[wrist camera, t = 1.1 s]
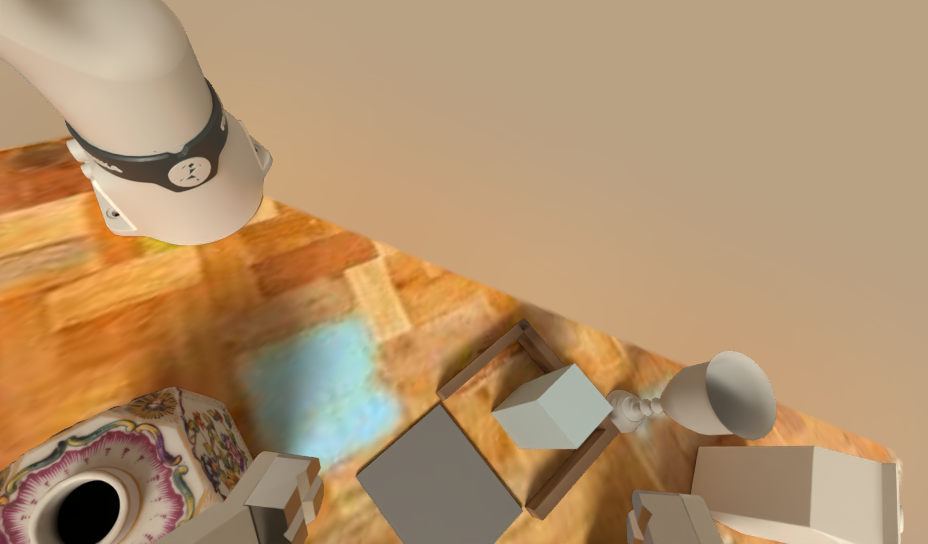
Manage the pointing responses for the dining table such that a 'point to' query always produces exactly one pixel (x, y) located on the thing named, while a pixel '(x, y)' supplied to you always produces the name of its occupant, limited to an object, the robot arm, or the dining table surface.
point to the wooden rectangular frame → (548, 363)
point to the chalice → (707, 399)
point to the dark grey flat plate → (438, 487)
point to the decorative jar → (124, 473)
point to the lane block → (553, 410)
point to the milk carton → (800, 494)
